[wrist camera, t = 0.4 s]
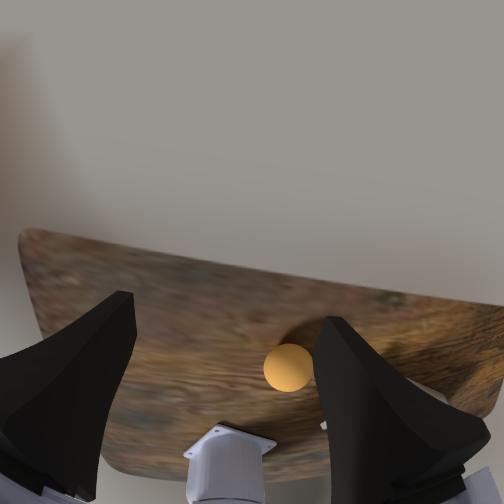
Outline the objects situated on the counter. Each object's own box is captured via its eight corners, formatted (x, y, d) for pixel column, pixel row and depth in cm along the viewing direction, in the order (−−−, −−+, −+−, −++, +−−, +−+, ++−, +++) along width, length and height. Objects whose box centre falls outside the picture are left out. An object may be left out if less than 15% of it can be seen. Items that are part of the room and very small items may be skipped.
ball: (289, 374, 25) (296, 406, 21) (253, 358, 24) (254, 391, 20) (317, 345, 23) (328, 376, 20) (280, 326, 23) (286, 358, 19)
